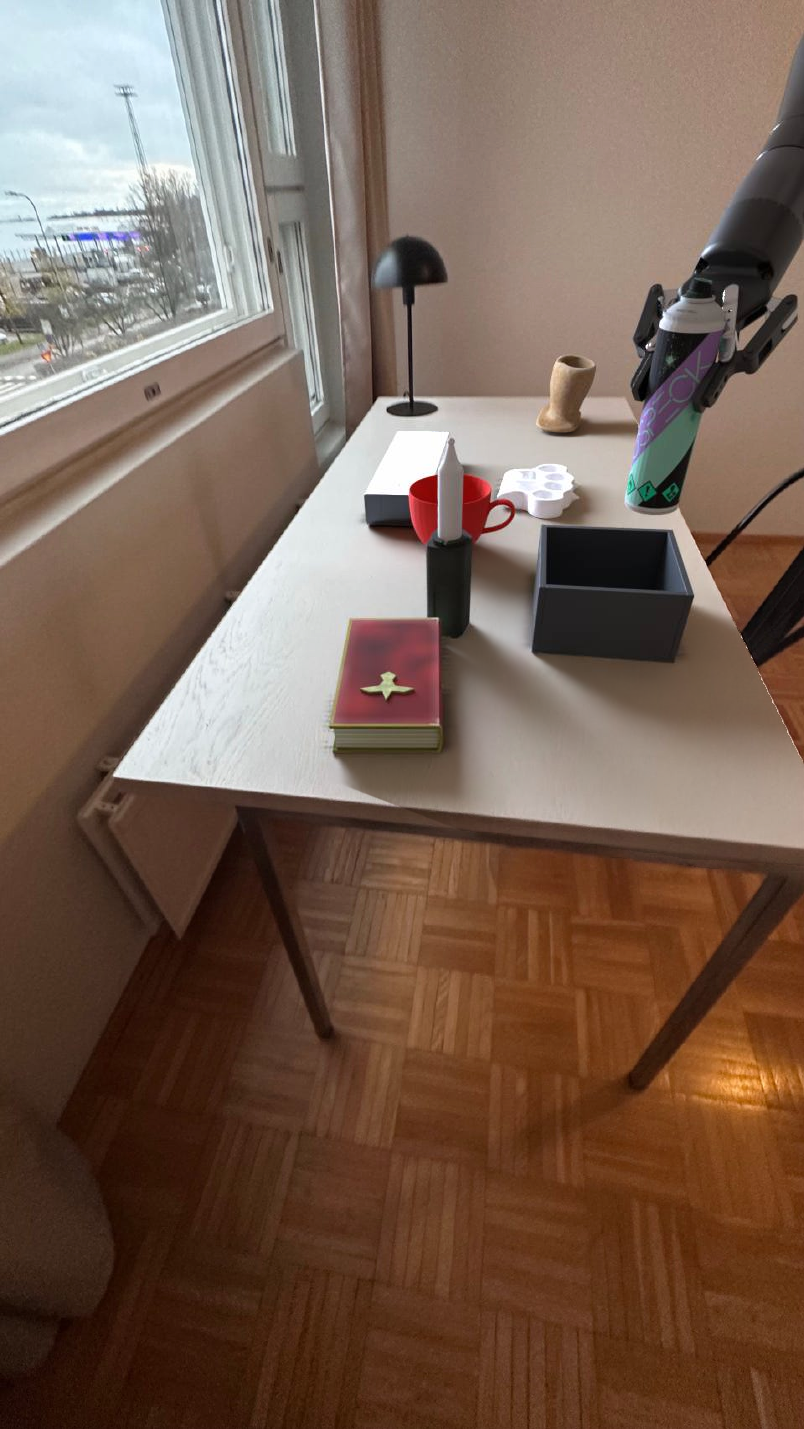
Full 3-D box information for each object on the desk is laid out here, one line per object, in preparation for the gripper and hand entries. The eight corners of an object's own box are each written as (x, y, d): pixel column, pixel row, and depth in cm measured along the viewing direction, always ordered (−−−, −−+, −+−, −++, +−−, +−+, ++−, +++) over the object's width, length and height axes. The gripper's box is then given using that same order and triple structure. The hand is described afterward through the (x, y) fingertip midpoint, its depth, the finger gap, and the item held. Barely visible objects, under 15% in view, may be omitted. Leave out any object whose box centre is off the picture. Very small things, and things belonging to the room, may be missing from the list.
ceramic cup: (504, 573, 98) (509, 511, 91) (400, 561, 102) (397, 501, 95) (517, 537, 107) (523, 478, 100) (422, 527, 111) (421, 470, 105)
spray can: (620, 494, 70) (662, 275, 56) (671, 494, 69) (726, 272, 56) (628, 515, 66) (676, 284, 52) (683, 515, 65) (745, 282, 52)
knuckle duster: (506, 478, 127) (580, 482, 124) (494, 515, 114) (577, 521, 111) (507, 461, 125) (583, 465, 122) (495, 497, 112) (580, 502, 109)
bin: (657, 591, 92) (673, 529, 86) (674, 663, 79) (694, 595, 73) (534, 585, 95) (541, 524, 88) (531, 652, 82) (539, 587, 75)
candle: (424, 633, 86) (421, 443, 70) (437, 613, 90) (437, 429, 73) (460, 639, 84) (465, 447, 68) (471, 620, 88) (479, 432, 72)
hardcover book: (441, 642, 84) (441, 615, 81) (442, 753, 68) (443, 724, 66) (352, 643, 85) (349, 616, 82) (333, 752, 69) (328, 724, 66)
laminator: (428, 530, 110) (428, 496, 106) (360, 528, 112) (357, 493, 108) (449, 462, 135) (450, 431, 131) (393, 460, 137) (392, 430, 133)
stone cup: (584, 438, 144) (594, 364, 134) (531, 435, 147) (538, 362, 137) (590, 418, 154) (601, 349, 144) (541, 416, 157) (549, 347, 148)
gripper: (845, 266, 57) (745, 440, 59) (692, 257, 65) (608, 411, 66) (850, 194, 50) (737, 391, 52) (680, 194, 58) (587, 365, 60)
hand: (665, 401), depth 59 cm, fingers closed on spray can, 5 cm apart
